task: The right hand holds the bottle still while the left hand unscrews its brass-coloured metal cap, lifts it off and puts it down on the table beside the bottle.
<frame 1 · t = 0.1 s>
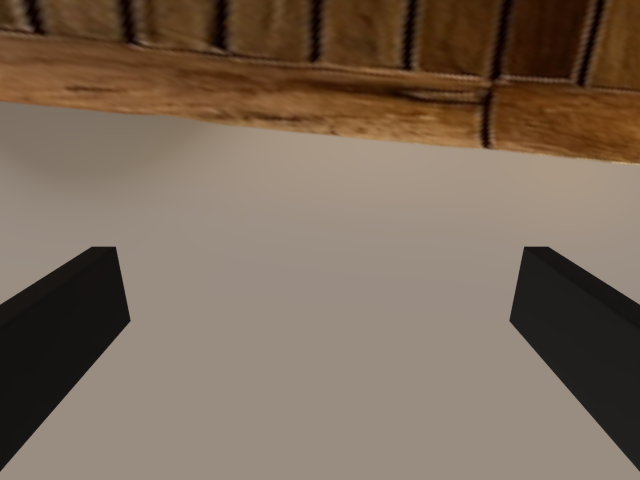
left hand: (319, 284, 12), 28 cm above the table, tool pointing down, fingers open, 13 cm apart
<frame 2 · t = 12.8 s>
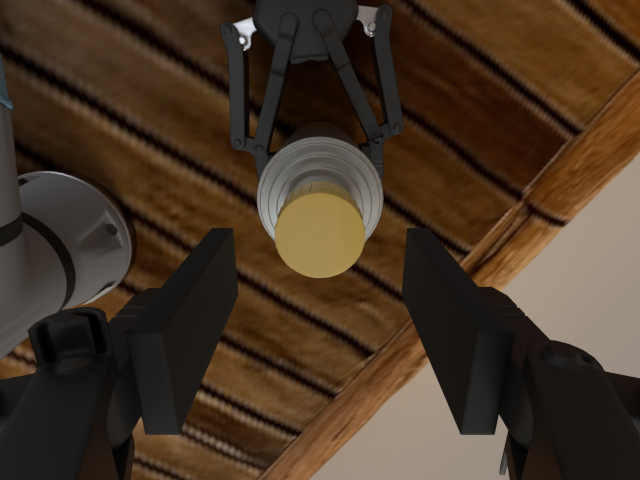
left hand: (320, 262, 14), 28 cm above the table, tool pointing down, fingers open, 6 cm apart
right hand: (324, 217, 36), fingers closed on bottle, 8 cm apart
cap: (319, 234, 17), point 25 cm above the table, screwed on, not yet turned
bottle: (319, 158, 40), on the table, touching right hand
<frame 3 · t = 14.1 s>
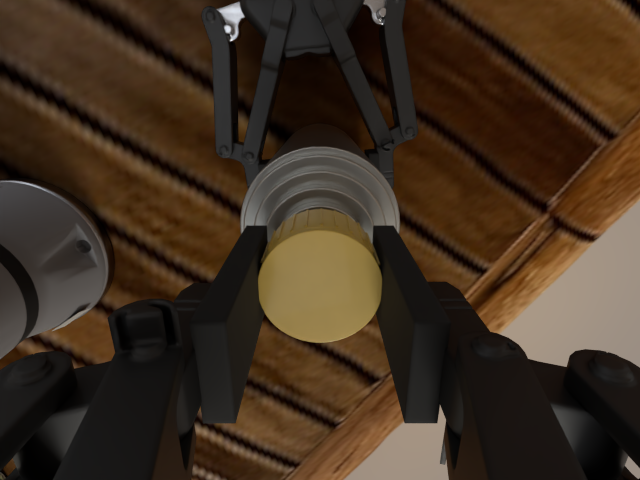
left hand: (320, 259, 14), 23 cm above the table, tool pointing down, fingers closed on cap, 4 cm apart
right hand: (325, 234, 31), fingers closed on bottle, 8 cm apart
cap: (320, 285, 12), point 25 cm above the table, screwed on, not yet turned, touching left hand
bottle: (320, 165, 36), on the table, touching right hand
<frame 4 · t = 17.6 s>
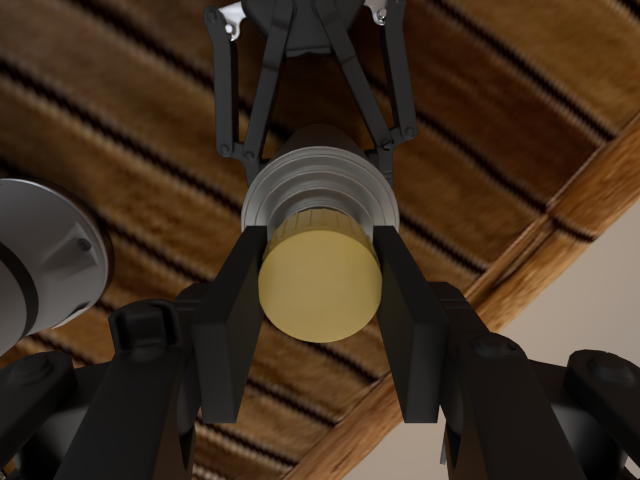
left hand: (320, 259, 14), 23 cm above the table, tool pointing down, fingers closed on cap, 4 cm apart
right hand: (325, 234, 32), fingers closed on bottle, 8 cm apart
cap: (320, 285, 12), point 25 cm above the table, turned 108° so far, risen 0.1 cm, still on its thread, touching left hand
bottle: (319, 165, 36), on the table, touching right hand
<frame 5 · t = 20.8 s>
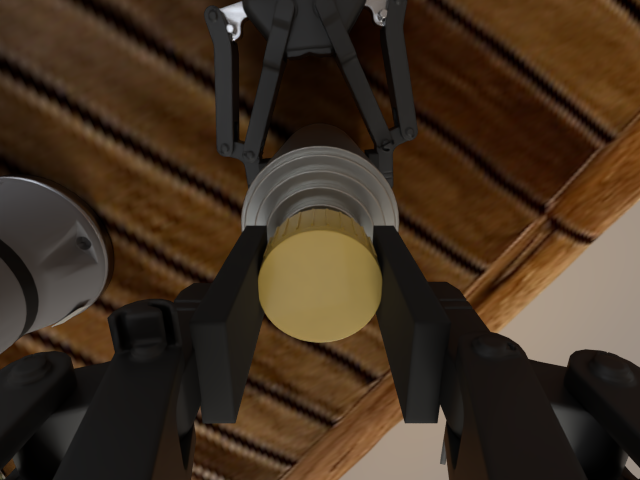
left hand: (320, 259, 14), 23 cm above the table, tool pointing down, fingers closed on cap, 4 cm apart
right hand: (324, 233, 32), fingers closed on bottle, 8 cm apart
cap: (320, 285, 12), point 25 cm above the table, turned 217° so far, risen 0.2 cm, still on its thread, touching left hand
bottle: (319, 164, 36), on the table, touching right hand
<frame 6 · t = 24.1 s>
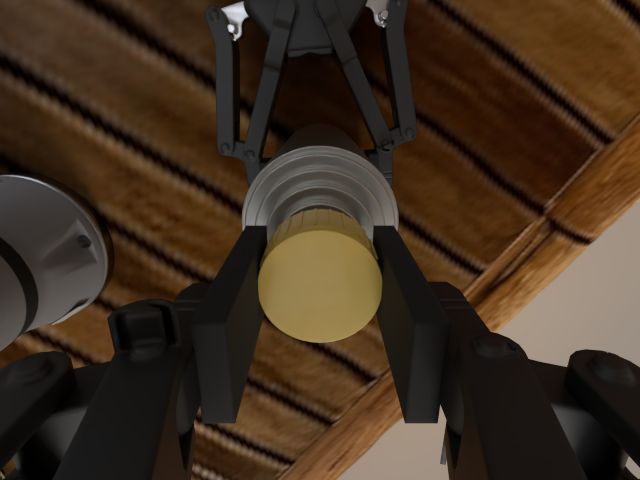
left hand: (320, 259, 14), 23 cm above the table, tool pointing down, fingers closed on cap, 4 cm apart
right hand: (324, 233, 32), fingers closed on bottle, 8 cm apart
cap: (320, 285, 12), point 25 cm above the table, turned 325° so far, risen 0.3 cm, still on its thread, touching left hand
bottle: (319, 164, 36), on the table, touching right hand
when the left hand's fingers open (1 cm above the table, at t = 31.3 s): cap drops 1 cm, point 2 cm above the table.
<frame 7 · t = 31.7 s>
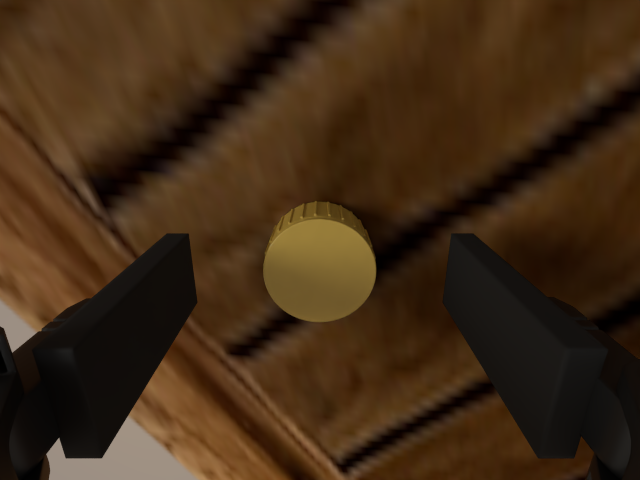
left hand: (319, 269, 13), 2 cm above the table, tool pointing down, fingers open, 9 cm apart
cap: (319, 269, 14), point 2 cm above the table, off its thread
when the right hand's fingers open (6 cm above the table, at t = 32.6 s): bottle stays where it is, on the table.
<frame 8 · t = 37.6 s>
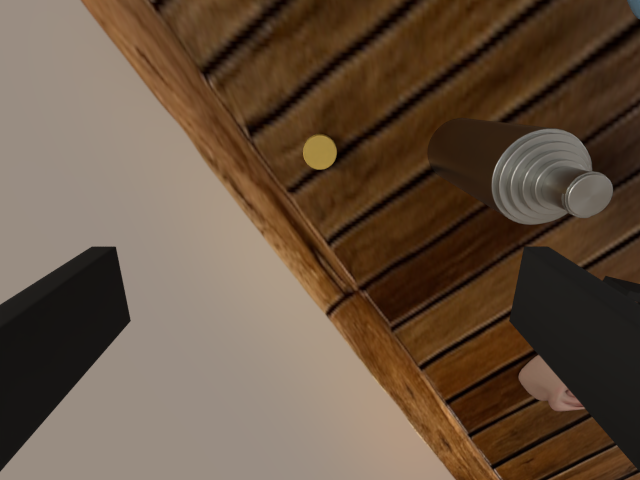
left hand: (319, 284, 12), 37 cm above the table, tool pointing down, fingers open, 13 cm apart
cap: (319, 152, 45), point 2 cm above the table, off its thread
bottle: (457, 149, 47), on the table
anatomical model: (563, 372, 59), on the table
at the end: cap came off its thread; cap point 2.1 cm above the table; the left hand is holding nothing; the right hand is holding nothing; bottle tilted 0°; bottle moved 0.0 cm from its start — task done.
